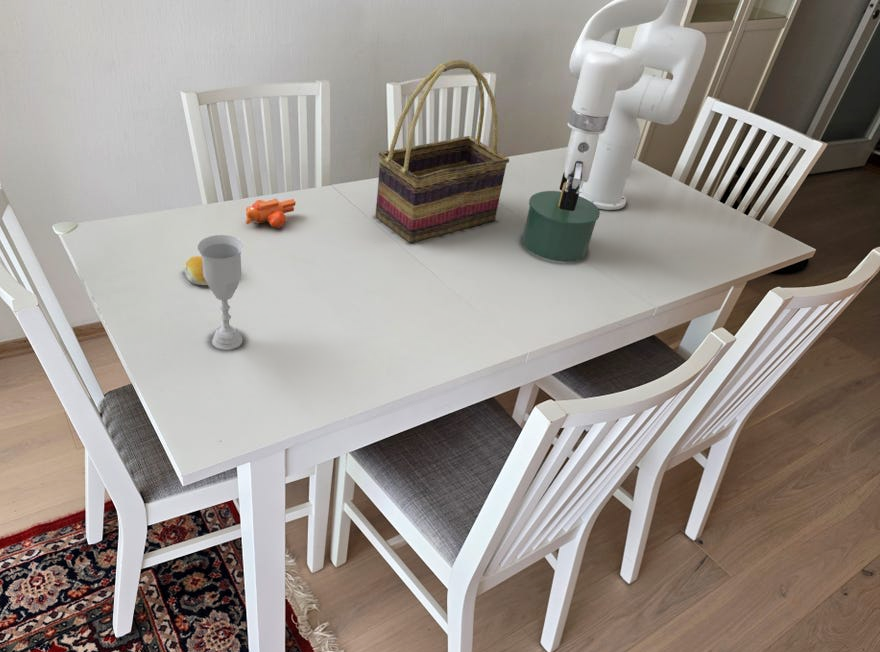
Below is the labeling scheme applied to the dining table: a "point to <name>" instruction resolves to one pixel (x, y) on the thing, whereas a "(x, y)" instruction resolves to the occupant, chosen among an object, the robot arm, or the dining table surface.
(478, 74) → the basket
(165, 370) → the dining table surface
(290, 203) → the orange plastic lumpy piece
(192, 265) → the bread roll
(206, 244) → the chalice
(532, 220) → the tin
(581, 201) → the lid
